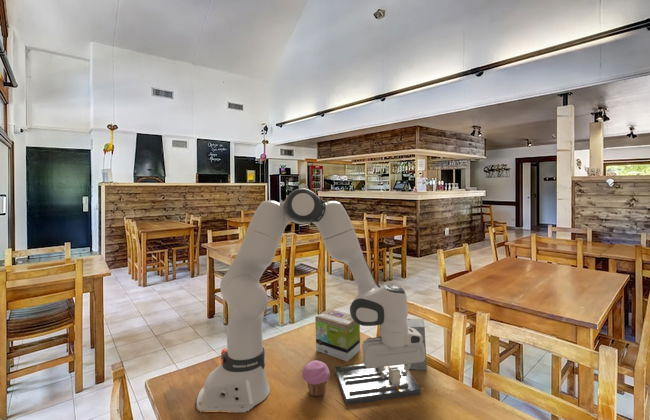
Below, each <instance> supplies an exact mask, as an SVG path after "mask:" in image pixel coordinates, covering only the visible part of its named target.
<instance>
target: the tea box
mask: <svg viewBox="0 0 650 420" xmlns="http://www.w3.org/2000/svg"><path fill="white" fill-rule="evenodd" d="M314 321H315V349H316V352H320V353H323V354H325V355H328V356H331V357H333V358H336V359H339V360H342V361H344V362H347V363H348V362H349V361H350V360H351V359H353V358H354V356H356V355H357V354H358V353H359V352H360V351H361V332H360V331H361V327H360V326H361V325H359V324H358V323H356V322H355V321H354V320H353V319H352V317H351V314H350V313H347V312H344V311H343V312H342V311H340V310H335V309H331V308H327V309H326V310H325V311H323V312H321V313H320V314H318V315H316V316H315V320H314Z"/></svg>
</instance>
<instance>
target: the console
mask: <svg viewBox="0 0 650 420" xmlns="http://www.w3.org/2000/svg"><path fill="white" fill-rule="evenodd" d="M396 366H397V367H398V369H399V370H400V384H396V385H392V383H391V381H390V380H389V368H388V366H385V367H384V369H383V370H382V371H385V372H386V373H387V379H382V378H381V372H380V370H379V368H378V367H377V368H369V369H368V368H366V366H365V365H364V363H363V362H362V363H356V364H347V365H338V366H335V367H334V373H335V376H336V378H337V381H338V384H339V387H340V390H341V393H342V396H343V399H344V402H345V404H346V406H348V405H357V404H364V403H372V402H379V401H386V400H392V399H393V400H395V399H399V398H409V397H414V396H422V388H421V386H420V385H419V384H418V383H417V381H416V379H415V378H414V377H413V376H412V374H411V373H410V371H409V370H408V371H407V376H402V374H401V369H403V368H404V366H405V364H402V365H396Z"/></svg>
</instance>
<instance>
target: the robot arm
mask: <svg viewBox="0 0 650 420" xmlns="http://www.w3.org/2000/svg"><path fill="white" fill-rule="evenodd" d="M308 223H312V224H313V225H315V226H316V228H317V229H318V232H319V234H320V237H321V239H322V242H323V245H324V247H325V249H326V251H327V253H328V254H329V256H330V257H331V258H332V259H333V260H336V261H339V262H342V263H344V264H346V266H347V267H348V268H349V269H350V271H351V274H352V277H353V278H354V281H355V284H356V286H357V296H355V298H354V299H353V300H352V303H351V304H350V306H349V314H351V317H352V319H353V320H354V321H355V322H356V323H358V324H359V325H360V326H363V327H374V326H375V327H376V326H379V336H376V337H367V338H366V339H365V340H363V341H362V344H361V345H362V348H361V349H362V364H363V363H364V365H365V366H366V368H368V369H369V368H377V367H378V368H379V370H380V372H381V378H382V379H387V373H386V372H385V371H382V370H383V369H384V367H385V366H394V365H402V364H403V365H404V368H403V369H401V374H402V376H407V371H408V372H409V370H410V369H409V368H410V367H411V363H418V362H423V361H424V360H425V347H424V344H423V343H422V341H423V337H422V335H421V334H420V333H419V332H418V331H417V330H416V329H414V328H411V327H408V325H407V319H408V314H409V313H408V312H409V311H408V310H409V309H408V307H409V306H408V297H407V294H406V291H405V289H403V288H402V287H401V286H399V285H397V284H392V283H385V284H382V285H381V286H380V285H379V283H378V282H377V281H376V280H375V278H374V276H373V274H372V270H371V268H370V267H369V264H368V262H367V260H366V258H365V255H364V253H363V249H362V248H361V244H360V241H359V239H358V235H357V233H356V230H355V228H354V225H353V223H352V221H351V218H350V216H349V215H348V213H347V211H346V208H345V207H344V206H343V204H342V203H341V202H339V201H336V200H329V201H325V200H323V199H322V198H321V197H320V196H319V195H317V193H315V192H314V191H312V190H311V189H308V188H303V187H302V188H295V189H294V190H292V191H291V192H290V193H289V194H288V195H287V197H286V198H285V199H284V200H283V201H276V200H273V199H271V200H270V199H269V200H264V201H262V202H261V203H260V204H259V205H258V206H257V208H256V210H255V211H254V214H253V215H252V217H251V220H250V221H249V223H248V227H247V229H246V232H245V235H244V237H243V240H242V242H241V245H240V247H239V250H238V252H237V254H236V256H235V258H234V259H233V260H232V263H231V264H230V266H229V268H228V269H227V272H226V273H224V275H222V277H221V280H220V285H219V287H220V294H221V296H222V298H223V299H224V301H225V302H226V304H227V306H228V320H227V321H228V322H227V327H226V347H225V348H222V349H221V352H220V355H221V357H220V362H221V364H219V365H218V366H217V367H216V368H215V369H213V370H212V371H211V372H209V374H208V376H207V377H206V380H205V383H204V386H203V387H202V388H201V389H200V390H199V393H198V394H197V398H196V404H197V405H196V409H197V408H198V409H199V410H200V411H216V410H218V411H231V412H230V413H247V412H246V411H248V412H249V410H250V409H251V410H252V409H253V408H254V407H255V406H256V405H258V404H260V403H261V402H263V401H265V400H266V398H267V397H268V396H269V394H270V391H271V388H270V385H269V382H268V378H267V373H266V368H265V367H266V353H265V352H266V351H265V348H264V345H263V344H264V343H263V340H264V339H263V321H264V316H265V311H266V309H267V307H268V303H269V296H268V294H267V292H266V289H265V287H264V286H263V284H262V283H260V279H261V277H262V276H263V275H264V274H263V273H264V272H266V270H267V268H268V267H269V266H270V265H271V264H272V263H273V261H274V259H275V255H276V252H277V250H278V248H279V245H280V243H281V240H282V238H283V237H282V236H283V233H284V231H285V229H286V228H287V226H288V225H289V224H298V225H299V224H300V225H304V224H308ZM199 404H202V405H199ZM251 410H250V411H251Z"/></svg>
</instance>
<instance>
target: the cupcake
mask: <svg viewBox="0 0 650 420" xmlns="http://www.w3.org/2000/svg"><path fill="white" fill-rule="evenodd" d="M330 375H331V372H330V368H329V367H328V365H327V364H326V363H325V362H323V361H321V360H316V359H315V360H312V361H310V362H307V363H306V364H305V365H304V367H303V370H302V378H303V380H304V381H305V383H307V388H308V391H309V394H310V395H311V396H313V397H315V396H316V397H317V396H323V395H325V394H326V387H327V383H328V381H329V379H330Z"/></svg>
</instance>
